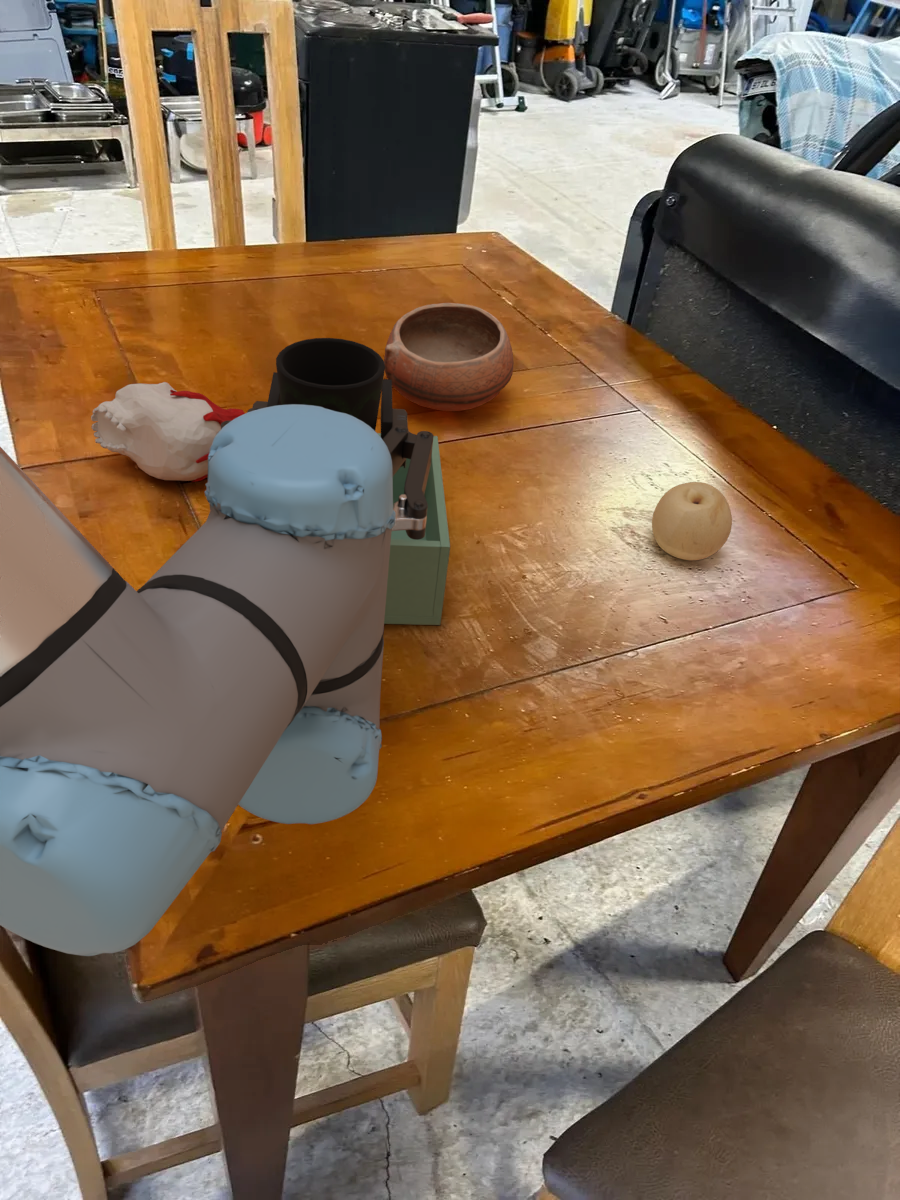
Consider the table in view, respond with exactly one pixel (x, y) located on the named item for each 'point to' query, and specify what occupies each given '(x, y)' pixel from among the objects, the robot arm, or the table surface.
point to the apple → (692, 521)
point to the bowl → (448, 356)
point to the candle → (161, 429)
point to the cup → (332, 377)
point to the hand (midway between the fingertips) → (332, 391)
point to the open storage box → (419, 556)
